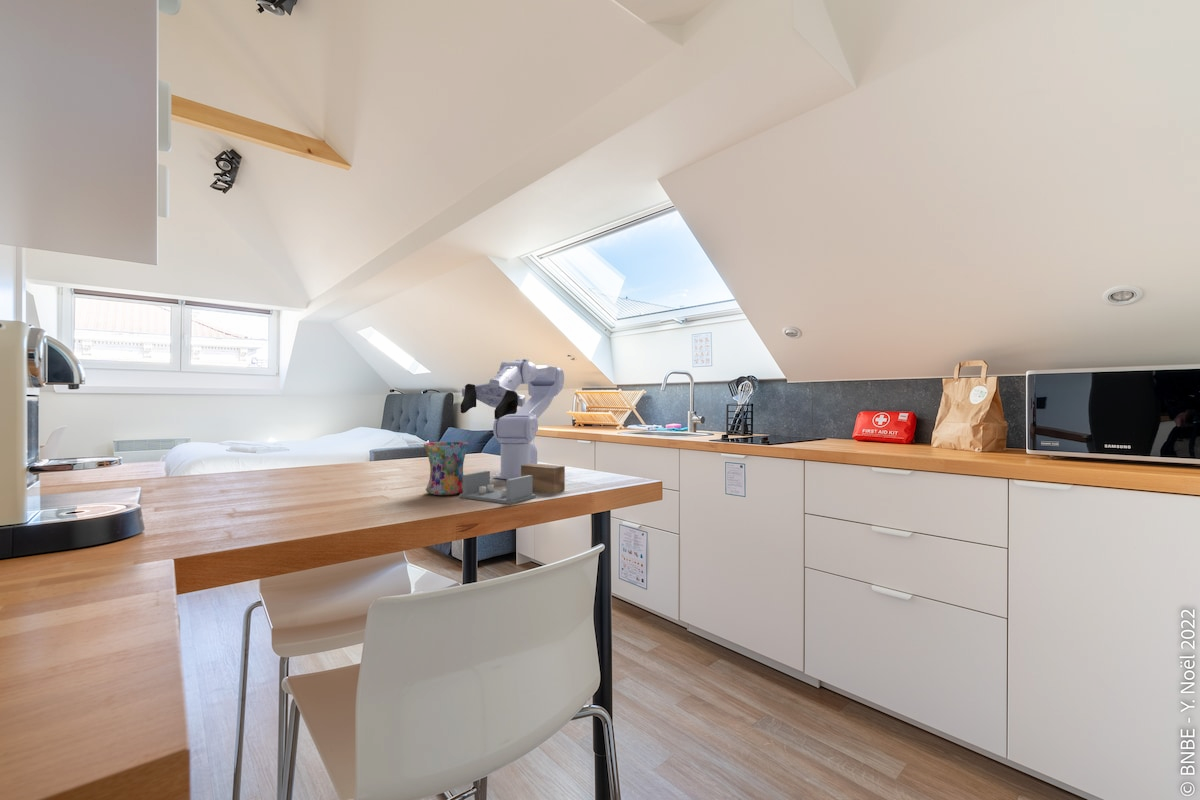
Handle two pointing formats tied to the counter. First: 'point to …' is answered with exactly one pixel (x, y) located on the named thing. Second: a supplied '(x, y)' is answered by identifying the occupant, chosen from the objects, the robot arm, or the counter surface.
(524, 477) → the peg cradle
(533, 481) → the shelf block
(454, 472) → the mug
